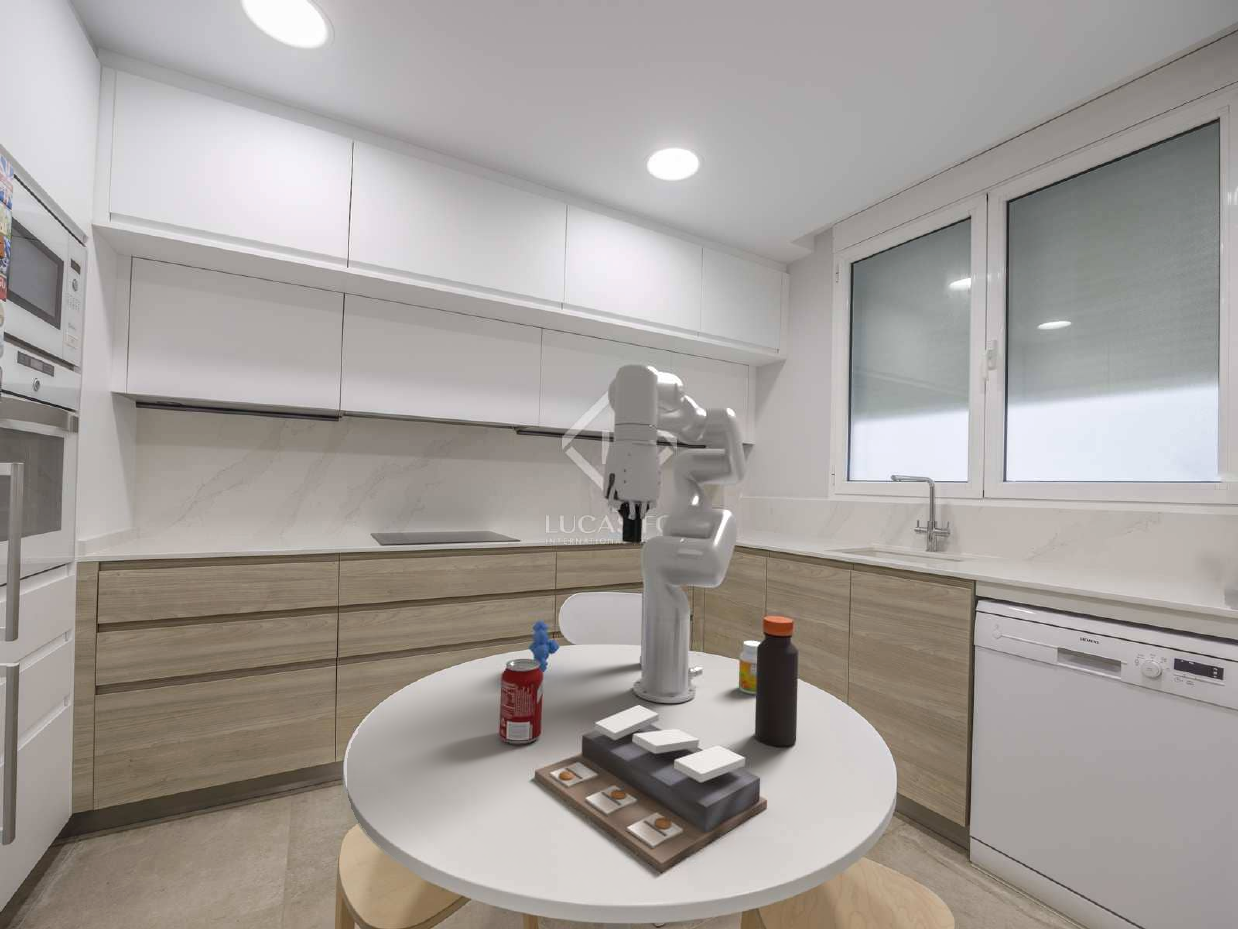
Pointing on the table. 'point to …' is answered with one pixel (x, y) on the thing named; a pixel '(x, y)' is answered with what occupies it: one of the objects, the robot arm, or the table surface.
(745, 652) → the supplement bottle
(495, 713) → the table surface
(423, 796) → the table surface
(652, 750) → the rocker middle
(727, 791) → the rocker switch unit
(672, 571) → the robot arm
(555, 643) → the grapes
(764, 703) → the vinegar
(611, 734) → the rocker far
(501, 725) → the soda can
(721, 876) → the table surface
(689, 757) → the rocker near
